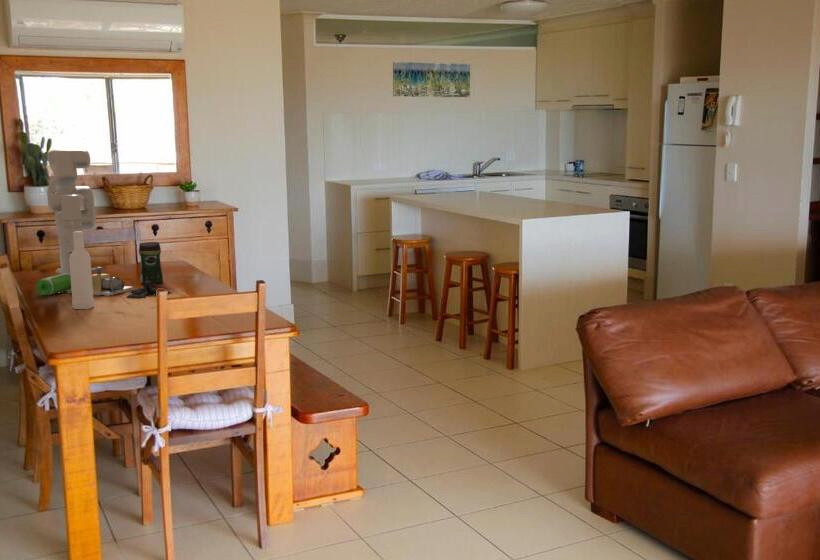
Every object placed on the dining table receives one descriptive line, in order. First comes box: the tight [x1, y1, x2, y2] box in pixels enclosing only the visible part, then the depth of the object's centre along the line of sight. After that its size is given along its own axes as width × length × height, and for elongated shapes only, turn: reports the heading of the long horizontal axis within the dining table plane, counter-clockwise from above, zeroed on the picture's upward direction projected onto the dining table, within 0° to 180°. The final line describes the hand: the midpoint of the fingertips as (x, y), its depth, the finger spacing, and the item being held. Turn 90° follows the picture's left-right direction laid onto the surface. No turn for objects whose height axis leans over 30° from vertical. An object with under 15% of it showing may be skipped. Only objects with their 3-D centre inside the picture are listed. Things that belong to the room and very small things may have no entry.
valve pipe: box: [65, 273, 134, 297], centre depth 377 cm, size 23×16×7 cm
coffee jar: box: [138, 241, 164, 285], centre depth 395 cm, size 10×8×19 cm
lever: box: [91, 266, 104, 274], centre depth 371 cm, size 14×4×3 cm, turn 160°
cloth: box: [126, 281, 173, 299], centre depth 371 cm, size 22×19×6 cm
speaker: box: [36, 273, 71, 296], centre depth 375 cm, size 18×7×8 cm, turn 164°
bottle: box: [69, 230, 95, 310], centre depth 341 cm, size 8×8×30 cm
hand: (75, 267), depth 370 cm, fingers closed
